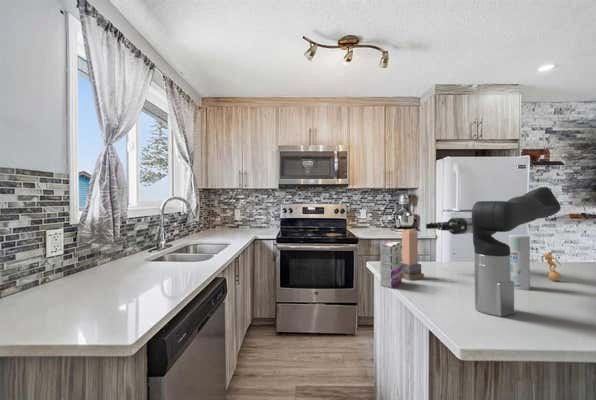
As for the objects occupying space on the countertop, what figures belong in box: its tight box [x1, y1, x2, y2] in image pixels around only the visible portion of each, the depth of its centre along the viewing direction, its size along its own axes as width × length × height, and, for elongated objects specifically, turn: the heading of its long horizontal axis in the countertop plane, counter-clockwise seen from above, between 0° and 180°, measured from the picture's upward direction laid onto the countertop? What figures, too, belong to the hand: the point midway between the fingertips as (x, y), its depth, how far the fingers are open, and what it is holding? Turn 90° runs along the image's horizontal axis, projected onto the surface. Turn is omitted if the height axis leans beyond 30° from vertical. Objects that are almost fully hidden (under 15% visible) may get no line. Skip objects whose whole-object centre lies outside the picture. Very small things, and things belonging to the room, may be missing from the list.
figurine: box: [540, 251, 562, 282], centre depth 127 cm, size 8×6×12 cm
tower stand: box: [401, 262, 425, 281], centre depth 134 cm, size 8×8×6 cm
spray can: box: [508, 234, 531, 291], centre depth 117 cm, size 6×6×20 cm
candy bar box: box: [379, 241, 403, 289], centre depth 123 cm, size 11×5×16 cm, turn 143°
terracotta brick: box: [401, 229, 419, 265], centre depth 134 cm, size 4×4×15 cm
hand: (434, 227), depth 134 cm, fingers open, 8 cm apart
